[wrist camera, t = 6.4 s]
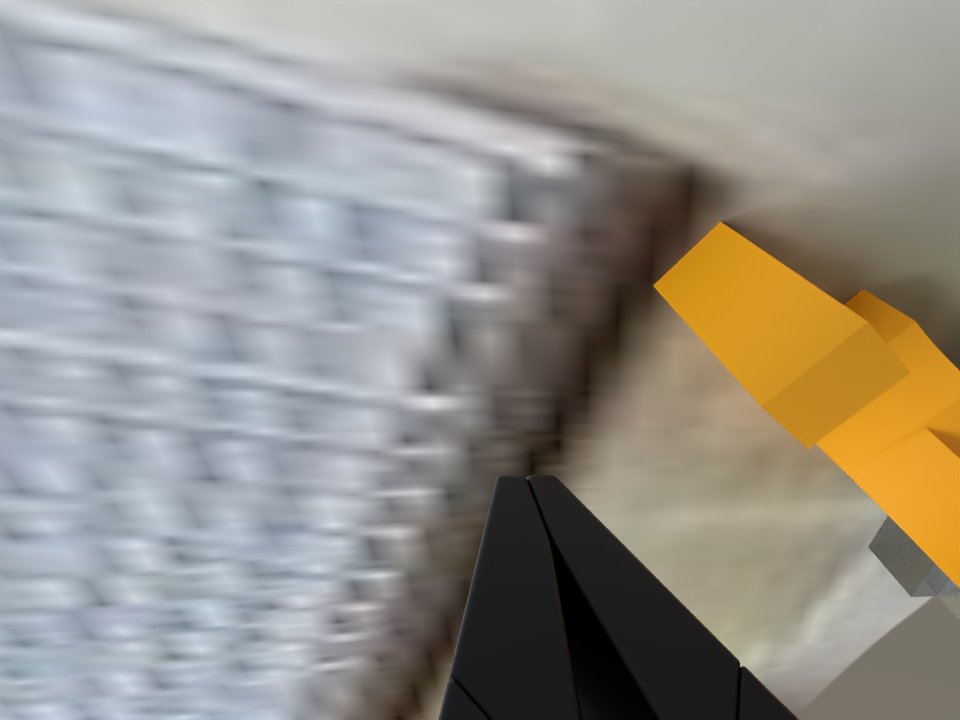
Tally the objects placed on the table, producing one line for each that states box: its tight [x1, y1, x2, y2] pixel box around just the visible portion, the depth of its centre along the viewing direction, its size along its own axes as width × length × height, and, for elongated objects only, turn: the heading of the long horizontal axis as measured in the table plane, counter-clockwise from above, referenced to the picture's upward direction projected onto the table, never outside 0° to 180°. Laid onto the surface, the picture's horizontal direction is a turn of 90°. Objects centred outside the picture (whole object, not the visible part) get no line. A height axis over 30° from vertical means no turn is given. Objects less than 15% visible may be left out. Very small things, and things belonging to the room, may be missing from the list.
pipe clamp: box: [653, 222, 960, 588], centre depth 17 cm, size 12×4×6 cm, turn 48°
